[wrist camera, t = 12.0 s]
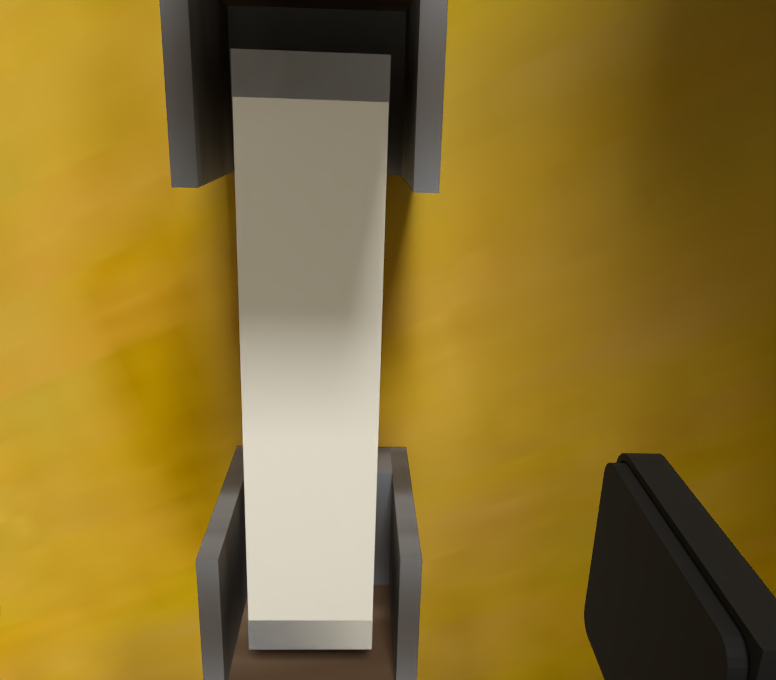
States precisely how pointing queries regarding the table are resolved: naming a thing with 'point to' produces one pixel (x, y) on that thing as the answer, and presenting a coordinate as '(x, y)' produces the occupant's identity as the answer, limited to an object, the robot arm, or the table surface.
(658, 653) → the robot arm
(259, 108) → the rail
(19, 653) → the table surface
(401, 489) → the posts
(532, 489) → the table surface
